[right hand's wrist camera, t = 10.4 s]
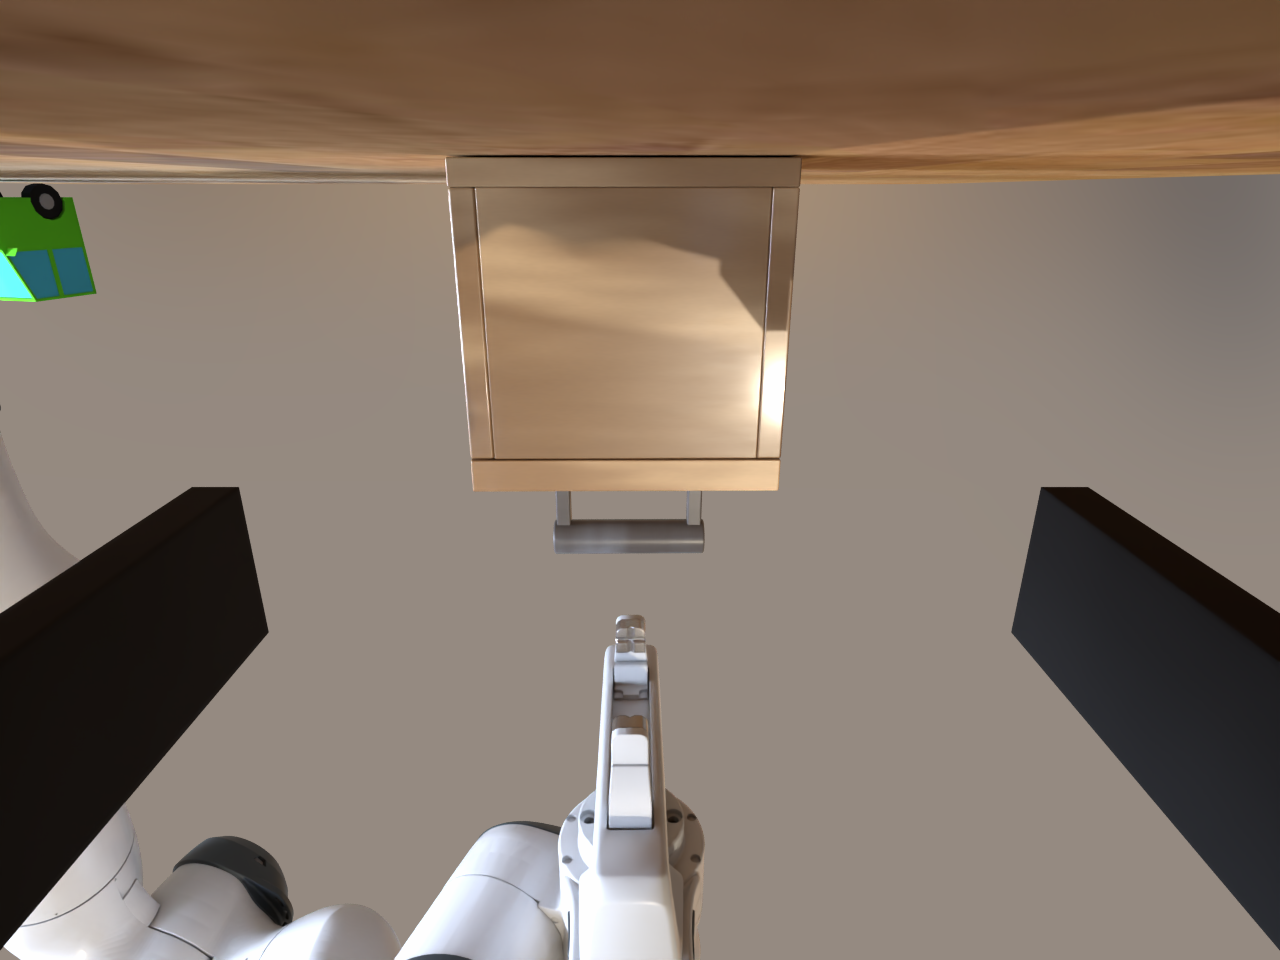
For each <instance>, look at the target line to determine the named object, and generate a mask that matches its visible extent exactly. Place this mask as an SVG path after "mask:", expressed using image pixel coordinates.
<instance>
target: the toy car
mask: <svg viewBox="0 0 1280 960" xmlns="http://www.w3.org/2000/svg"><path fill="white" fill-rule="evenodd" d="M89 294H96V289H95V285H94V281H93V277H92V273H91V269H90V266H89V262H88V258H87V254H86V250H85V246H84V242H83V238H82V234H81V230H80V226H79V222H78V218H77V214H76V210H75V206H74V202H73V198H72V197H60V196H59V194H58V192H57V191H56V190H55V189H53V188H52V187H51V186H49V185H45V184H30V185H27V186H25V188H24V189H23V191H22V192H21V197H3V196H2V194H1V193H0V300H7V301H31V302H38V301H45V300H52V299H60V298H67V297H74V296H82V295H89Z"/></svg>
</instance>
